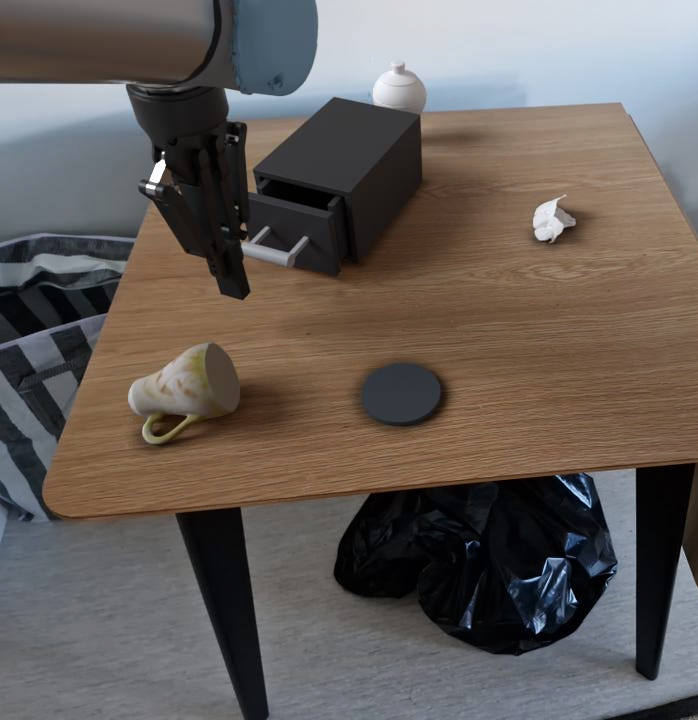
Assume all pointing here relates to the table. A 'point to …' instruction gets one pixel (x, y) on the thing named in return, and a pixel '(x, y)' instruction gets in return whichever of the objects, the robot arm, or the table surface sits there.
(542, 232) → the tissue
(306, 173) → the cabinet
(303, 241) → the drawer
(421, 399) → the coaster
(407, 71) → the white rounded knobbed vessel
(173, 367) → the mug
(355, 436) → the table surface
